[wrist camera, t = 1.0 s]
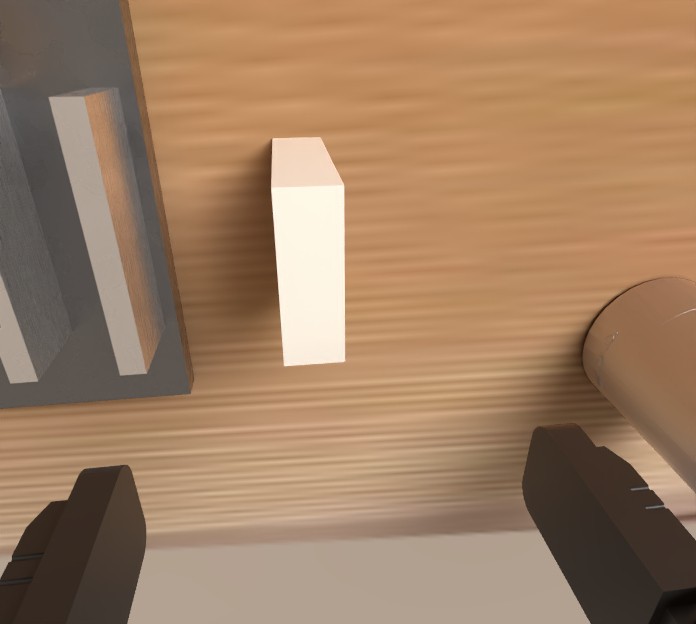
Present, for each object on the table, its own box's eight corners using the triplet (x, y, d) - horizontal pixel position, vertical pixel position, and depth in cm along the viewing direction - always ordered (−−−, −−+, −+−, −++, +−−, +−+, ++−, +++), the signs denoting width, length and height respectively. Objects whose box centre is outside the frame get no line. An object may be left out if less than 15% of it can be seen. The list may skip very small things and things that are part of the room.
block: (320, 137, 26) (344, 185, 17) (323, 265, 29) (344, 361, 20) (272, 138, 25) (271, 187, 16) (281, 267, 29) (284, 366, 20)
